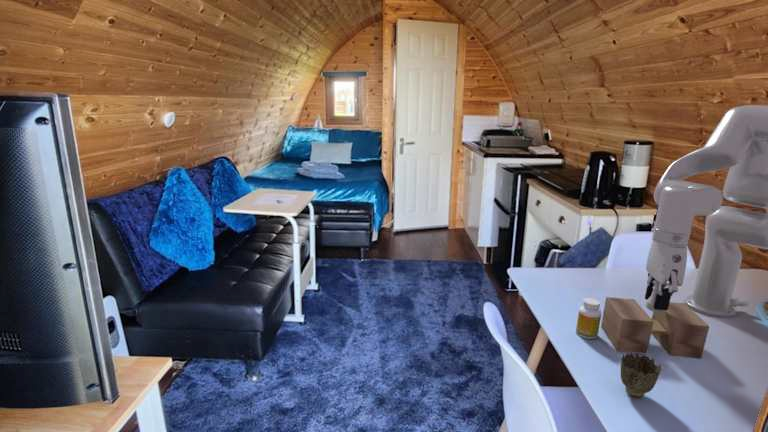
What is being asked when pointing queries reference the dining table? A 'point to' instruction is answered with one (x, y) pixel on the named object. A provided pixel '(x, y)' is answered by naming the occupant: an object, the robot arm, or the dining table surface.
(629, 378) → the cup
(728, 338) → the dining table surface
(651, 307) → the rook chess piece
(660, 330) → the gold metallic block
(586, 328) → the supplement bottle
